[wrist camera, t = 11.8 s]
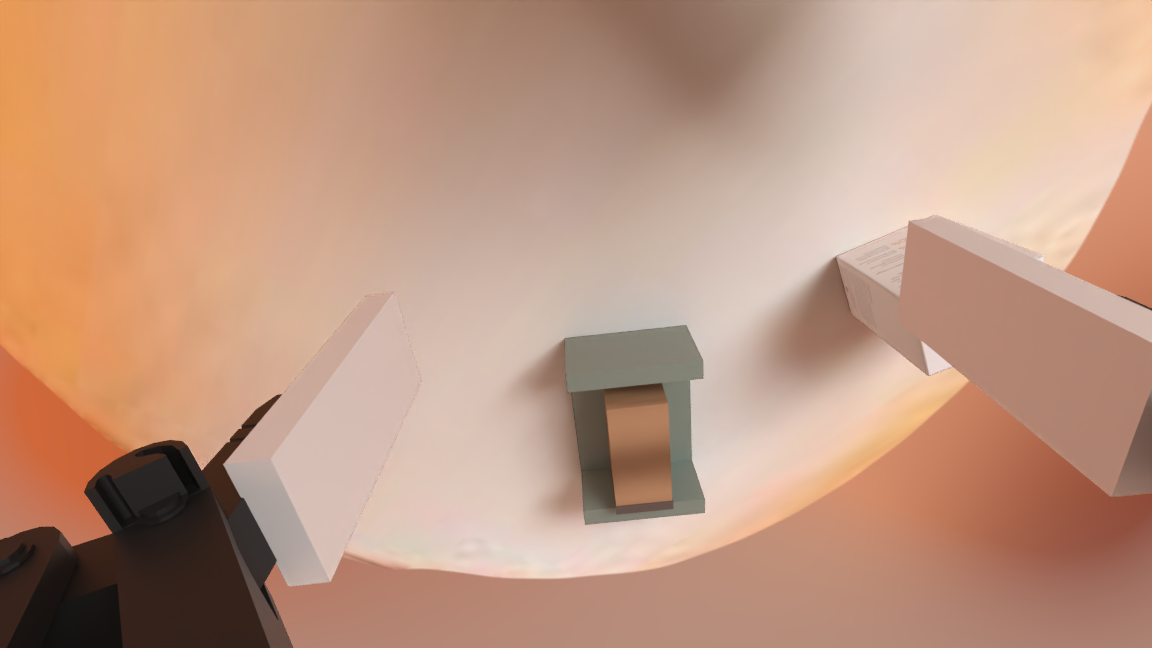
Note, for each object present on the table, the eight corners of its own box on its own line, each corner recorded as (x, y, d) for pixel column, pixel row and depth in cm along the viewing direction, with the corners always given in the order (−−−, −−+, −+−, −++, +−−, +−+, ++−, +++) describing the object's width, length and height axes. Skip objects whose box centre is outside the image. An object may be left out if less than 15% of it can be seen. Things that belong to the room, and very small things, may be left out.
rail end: (600, 369, 46) (606, 410, 40) (656, 363, 46) (669, 404, 40) (610, 465, 50) (616, 514, 45) (661, 460, 50) (673, 509, 45)
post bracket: (564, 338, 46) (565, 375, 40) (686, 325, 46) (703, 360, 40) (582, 476, 52) (585, 524, 46) (689, 465, 52) (704, 512, 46)
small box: (849, 313, 46) (925, 379, 36) (833, 254, 43) (910, 307, 34) (948, 274, 44) (1054, 332, 35) (937, 211, 42) (1047, 254, 33)
